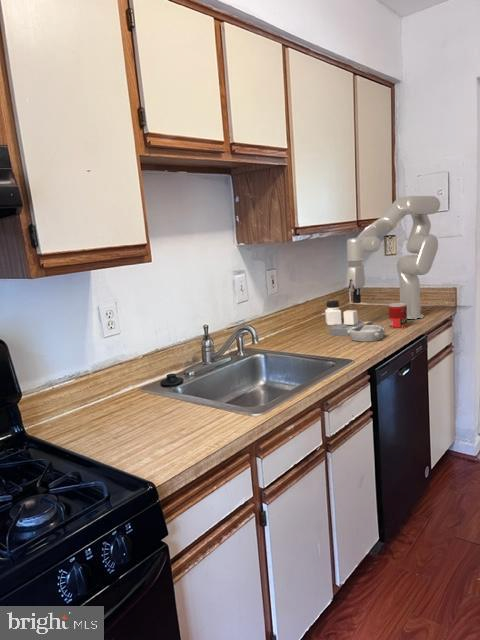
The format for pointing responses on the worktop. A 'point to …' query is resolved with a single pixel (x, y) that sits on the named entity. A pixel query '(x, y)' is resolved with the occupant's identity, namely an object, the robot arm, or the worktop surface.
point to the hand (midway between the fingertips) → (356, 302)
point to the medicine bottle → (333, 313)
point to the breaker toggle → (350, 317)
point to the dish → (367, 333)
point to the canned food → (398, 315)
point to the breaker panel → (348, 328)
